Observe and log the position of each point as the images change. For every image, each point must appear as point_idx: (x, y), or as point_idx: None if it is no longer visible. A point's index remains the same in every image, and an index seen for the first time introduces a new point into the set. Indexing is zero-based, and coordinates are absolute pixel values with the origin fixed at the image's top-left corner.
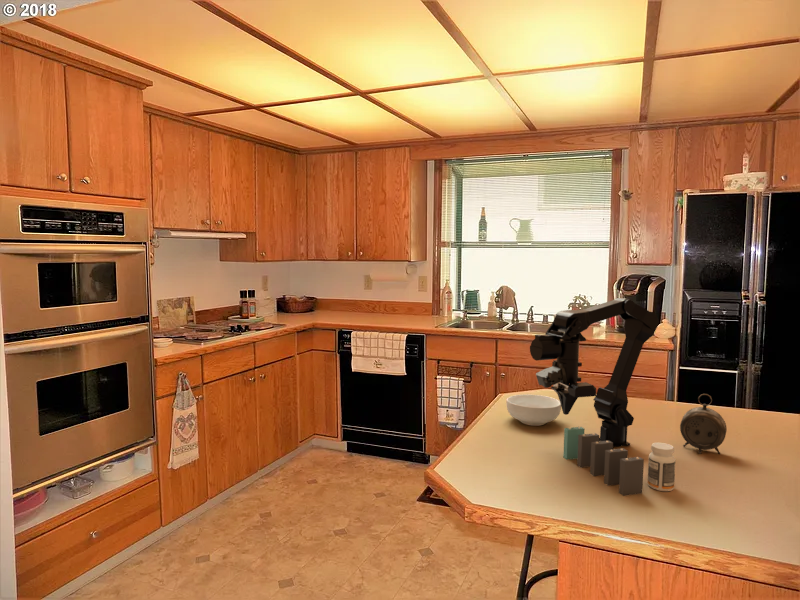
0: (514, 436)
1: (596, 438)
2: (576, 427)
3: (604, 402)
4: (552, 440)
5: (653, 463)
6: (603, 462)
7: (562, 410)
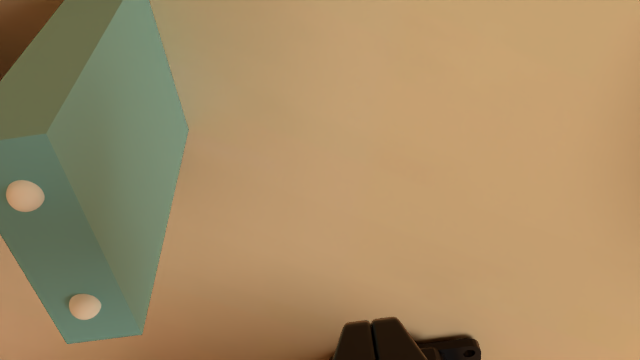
0: None
1: None
2: (103, 284)
3: None
4: (587, 47)
5: None
6: None
7: (413, 351)
